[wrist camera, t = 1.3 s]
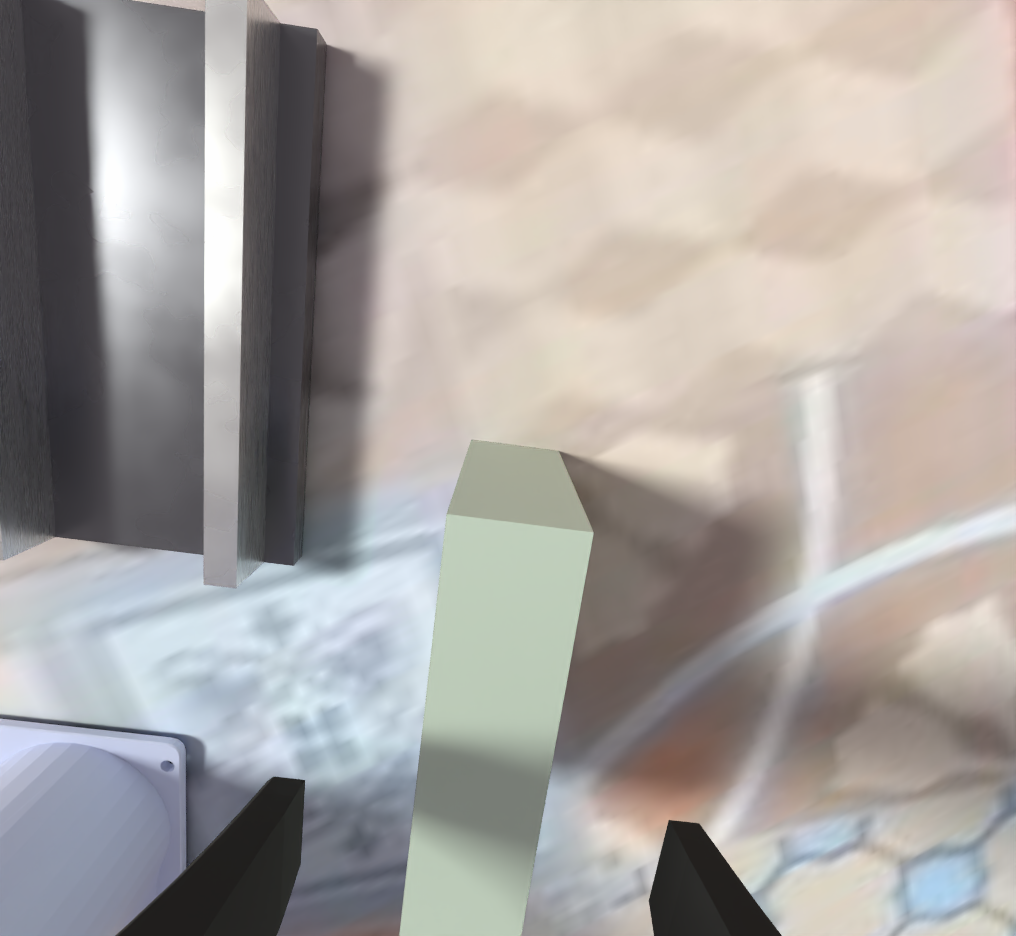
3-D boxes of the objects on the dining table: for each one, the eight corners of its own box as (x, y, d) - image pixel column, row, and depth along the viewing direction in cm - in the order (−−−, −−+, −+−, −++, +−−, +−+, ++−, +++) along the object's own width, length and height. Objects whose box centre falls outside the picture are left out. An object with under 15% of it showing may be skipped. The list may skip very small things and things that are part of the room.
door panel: (511, 745, 22) (513, 974, 14) (435, 737, 22) (396, 962, 14) (558, 450, 19) (593, 532, 11) (471, 438, 19) (446, 513, 11)
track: (326, 44, 16) (289, -16, 13) (302, 556, 20) (269, 592, 17) (-29, -11, 16) (-141, -83, 13) (15, 521, 19) (-65, 552, 17)
